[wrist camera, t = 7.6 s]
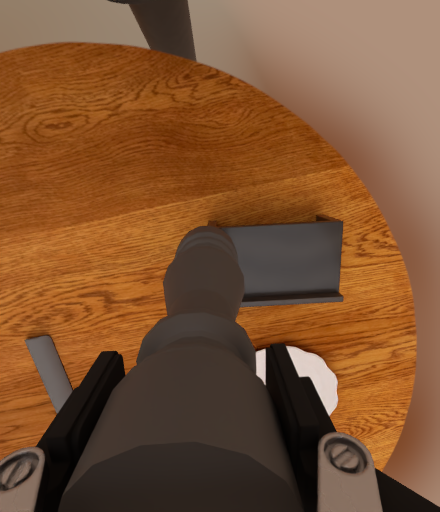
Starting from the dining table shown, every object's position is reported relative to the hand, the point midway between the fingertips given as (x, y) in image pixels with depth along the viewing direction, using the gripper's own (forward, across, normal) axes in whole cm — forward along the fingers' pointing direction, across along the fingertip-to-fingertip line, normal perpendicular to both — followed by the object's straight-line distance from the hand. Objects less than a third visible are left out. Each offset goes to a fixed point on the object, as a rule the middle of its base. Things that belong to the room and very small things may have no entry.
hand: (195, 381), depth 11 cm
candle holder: (+20, 0, 0) cm, 20 cm away
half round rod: (+35, +29, +26) cm, 52 cm away
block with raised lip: (+35, -9, +4) cm, 36 cm away
